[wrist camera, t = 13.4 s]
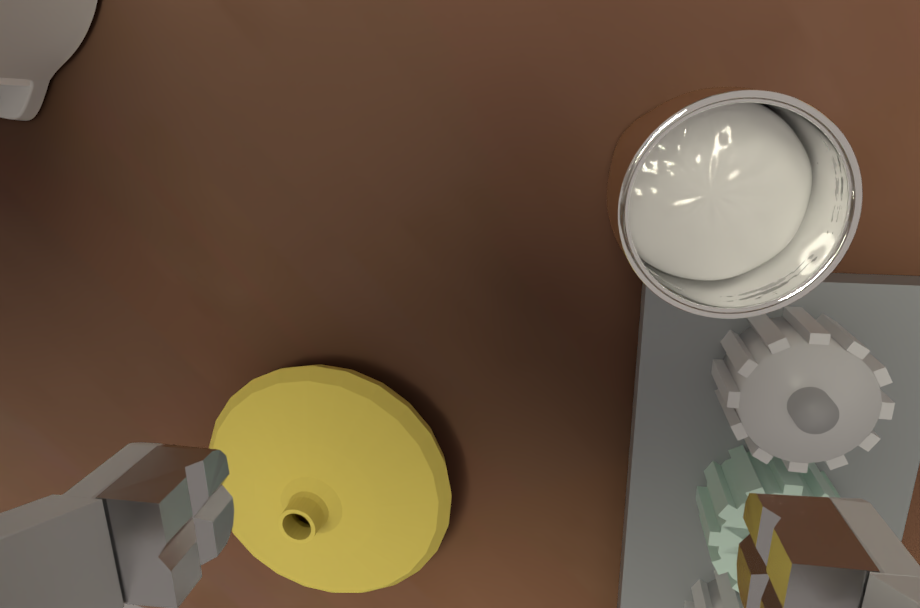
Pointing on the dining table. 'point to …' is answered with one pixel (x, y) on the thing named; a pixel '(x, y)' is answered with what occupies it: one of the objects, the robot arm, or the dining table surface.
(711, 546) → the loose gear
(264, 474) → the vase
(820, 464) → the gear board
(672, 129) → the beer glass
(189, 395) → the dining table surface
